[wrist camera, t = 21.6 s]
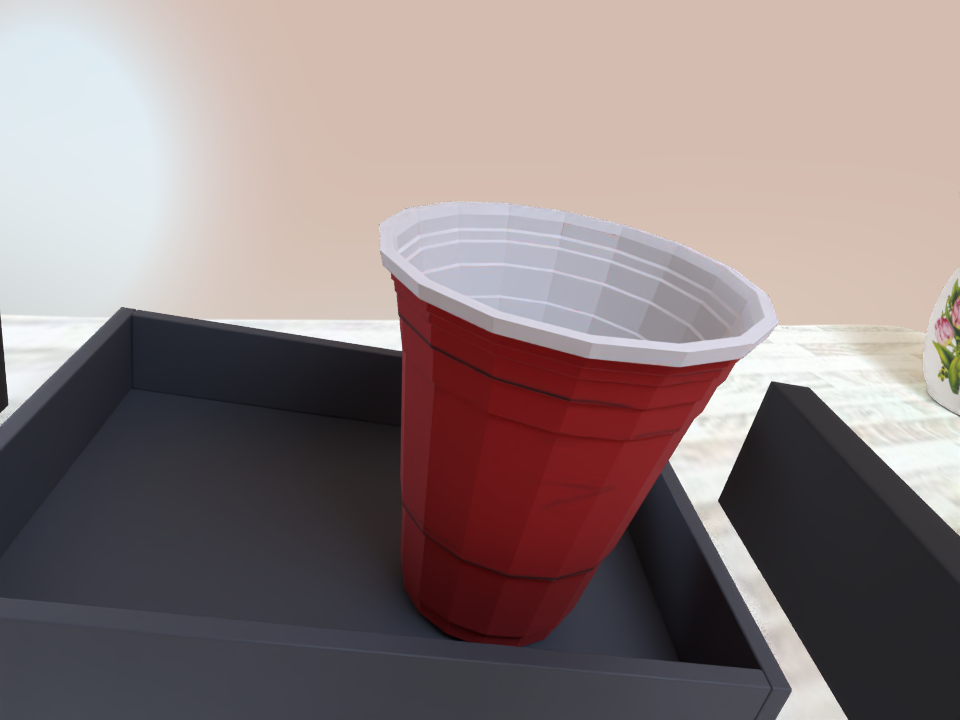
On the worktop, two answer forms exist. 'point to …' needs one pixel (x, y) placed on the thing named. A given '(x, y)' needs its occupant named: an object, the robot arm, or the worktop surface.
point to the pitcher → (944, 347)
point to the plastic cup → (543, 398)
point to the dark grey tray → (305, 557)
